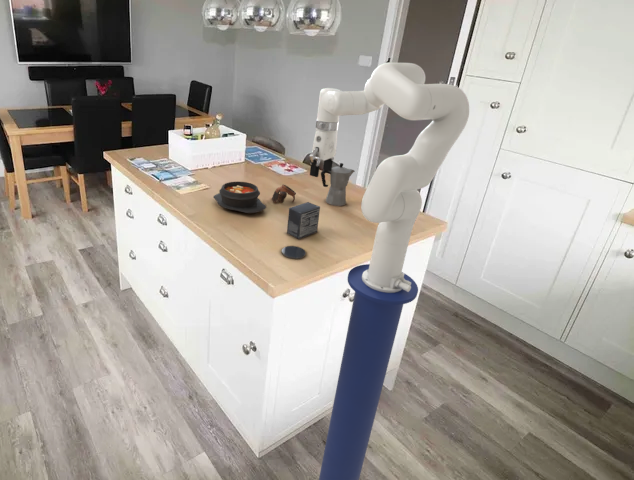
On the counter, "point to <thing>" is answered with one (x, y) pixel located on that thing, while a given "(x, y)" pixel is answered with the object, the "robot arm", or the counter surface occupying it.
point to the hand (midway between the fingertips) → (320, 173)
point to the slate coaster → (293, 252)
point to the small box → (303, 220)
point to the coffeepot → (337, 184)
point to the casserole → (240, 197)
